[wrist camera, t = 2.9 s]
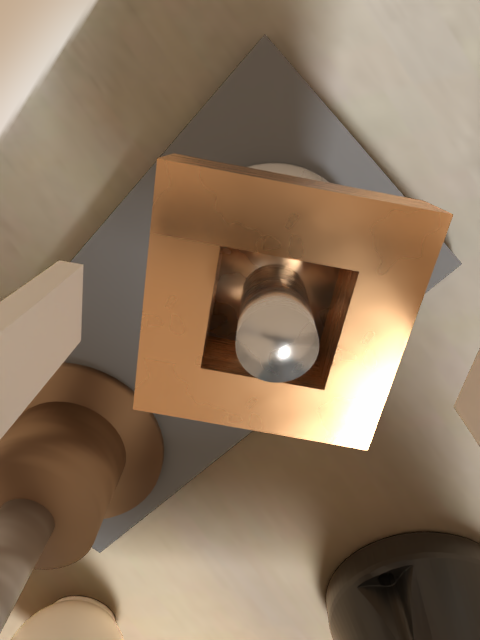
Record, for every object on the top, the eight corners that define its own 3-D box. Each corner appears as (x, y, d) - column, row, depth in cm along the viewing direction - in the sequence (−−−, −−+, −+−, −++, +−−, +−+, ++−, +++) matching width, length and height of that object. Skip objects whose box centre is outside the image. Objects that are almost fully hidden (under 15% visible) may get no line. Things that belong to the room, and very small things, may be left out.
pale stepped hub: (382, 181, 24) (479, 226, 13) (334, 346, 28) (378, 484, 17) (197, 146, 24) (142, 163, 13) (175, 317, 28) (118, 440, 17)
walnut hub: (174, 381, 30) (116, 549, 18) (154, 524, 35) (99, 728, 23) (-25, 346, 29) (-218, 494, 17) (-15, 496, 34) (-159, 688, 23)
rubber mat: (264, 38, 23) (265, 34, 22) (453, 258, 27) (462, 263, 26) (-66, 423, 33) (-77, 433, 32) (104, 540, 37) (99, 552, 36)
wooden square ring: (423, 200, 18) (453, 214, 15) (354, 409, 22) (367, 450, 19) (173, 153, 18) (157, 158, 15) (149, 373, 22) (132, 409, 19)
